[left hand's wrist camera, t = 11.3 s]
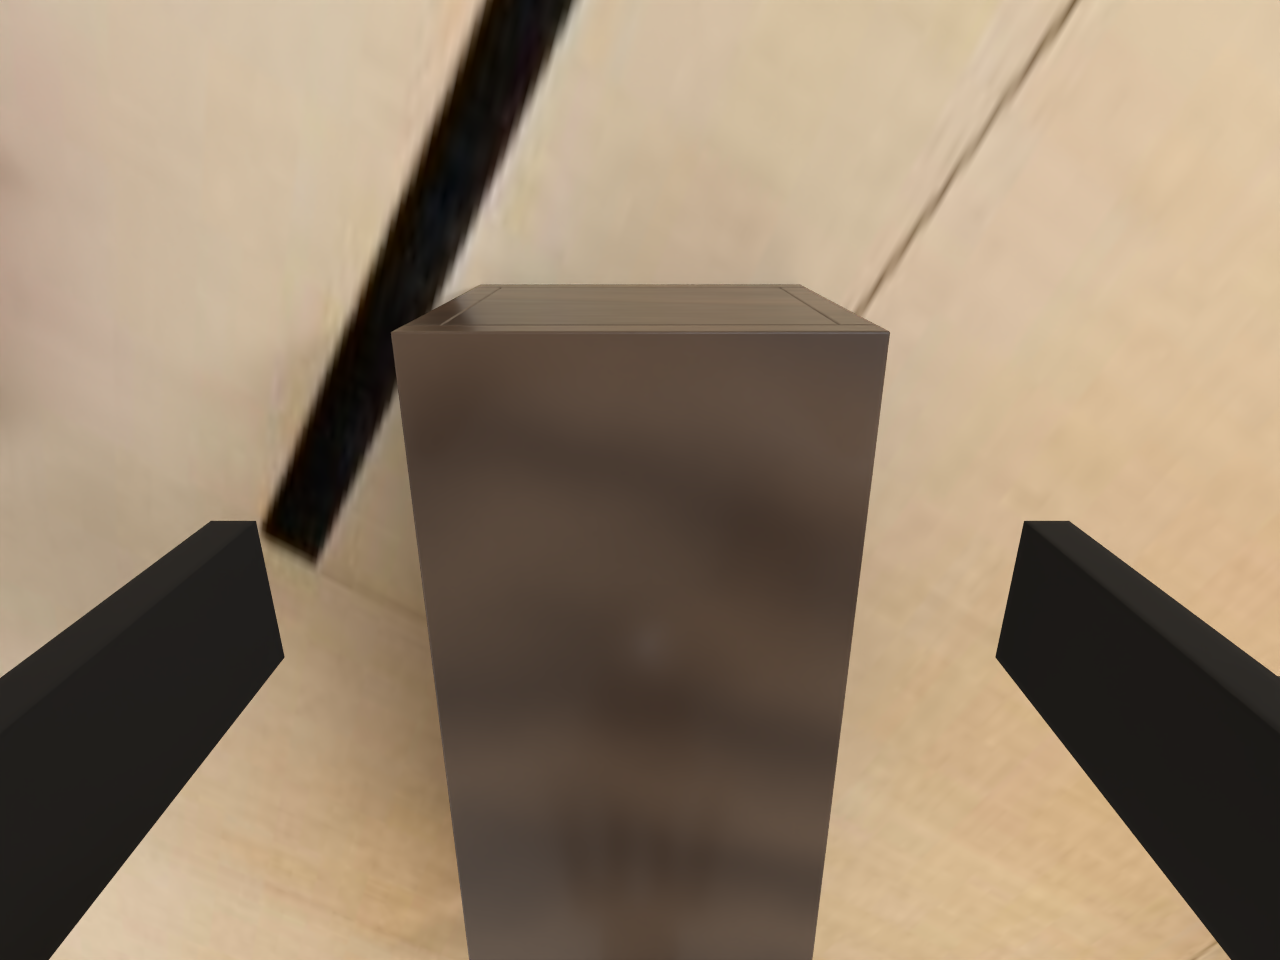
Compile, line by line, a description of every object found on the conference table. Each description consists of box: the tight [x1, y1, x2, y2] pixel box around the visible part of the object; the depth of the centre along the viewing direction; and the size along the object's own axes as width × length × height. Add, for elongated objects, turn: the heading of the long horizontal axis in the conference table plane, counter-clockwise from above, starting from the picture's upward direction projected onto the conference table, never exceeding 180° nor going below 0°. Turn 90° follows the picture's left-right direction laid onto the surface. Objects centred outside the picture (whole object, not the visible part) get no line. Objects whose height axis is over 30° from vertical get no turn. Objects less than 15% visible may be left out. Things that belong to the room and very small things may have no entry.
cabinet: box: [391, 285, 890, 960], centre depth 25 cm, size 22×11×10 cm, turn 0°
